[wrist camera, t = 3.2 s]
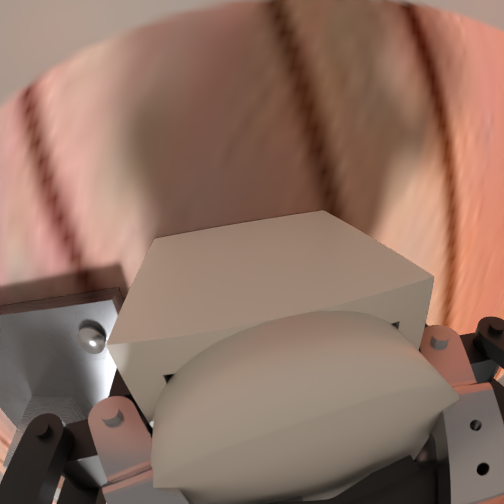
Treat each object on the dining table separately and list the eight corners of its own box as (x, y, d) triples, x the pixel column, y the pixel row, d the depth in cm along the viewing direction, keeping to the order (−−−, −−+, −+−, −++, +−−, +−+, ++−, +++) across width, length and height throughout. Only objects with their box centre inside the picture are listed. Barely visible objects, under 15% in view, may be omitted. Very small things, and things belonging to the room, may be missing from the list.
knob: (323, 210, 10) (523, 342, 3) (325, 342, 13) (417, 495, 5) (154, 238, 10) (66, 470, 2) (192, 369, 12) (204, 554, 4)
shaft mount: (118, 287, 10) (64, 405, 5) (198, 458, 15) (206, 536, 9) (-45, 312, 9) (-98, 372, 3) (53, 453, 14) (39, 512, 8)
